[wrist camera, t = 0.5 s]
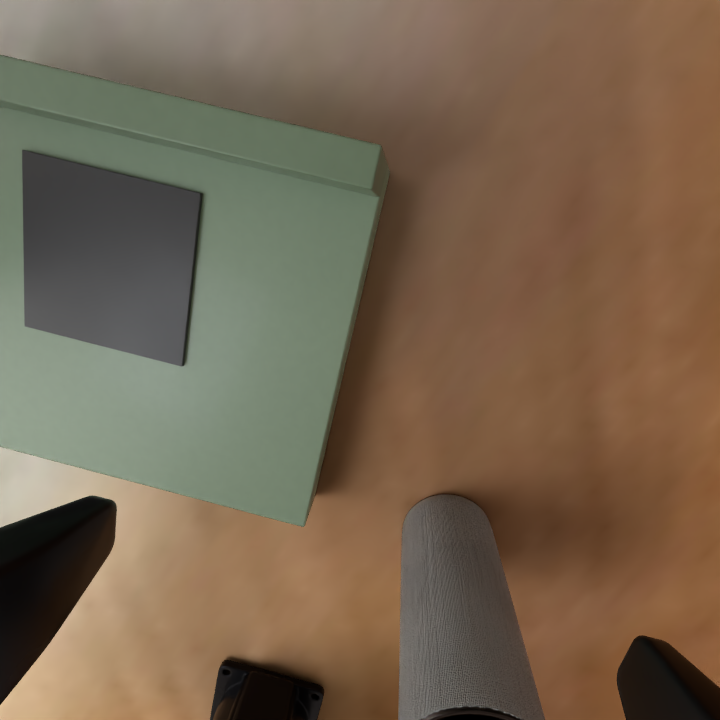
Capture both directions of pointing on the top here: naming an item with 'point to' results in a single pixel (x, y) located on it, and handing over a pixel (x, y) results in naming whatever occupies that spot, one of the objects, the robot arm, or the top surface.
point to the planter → (459, 621)
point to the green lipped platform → (177, 286)
